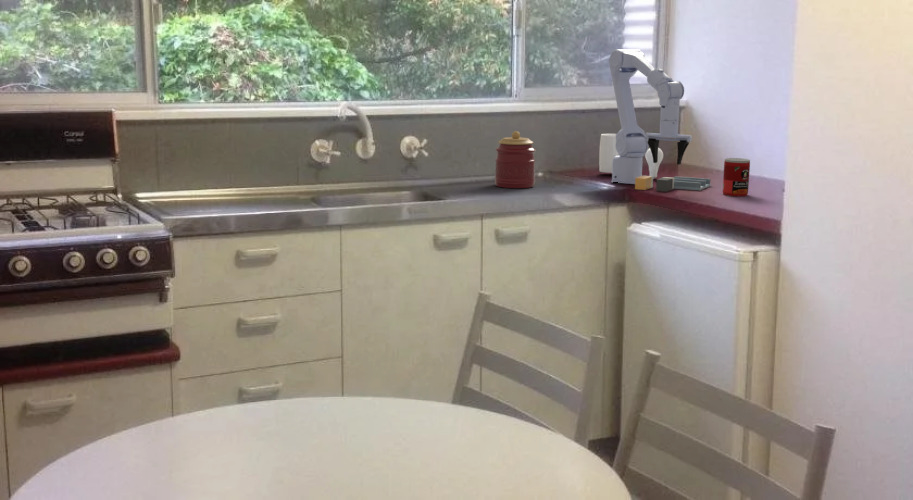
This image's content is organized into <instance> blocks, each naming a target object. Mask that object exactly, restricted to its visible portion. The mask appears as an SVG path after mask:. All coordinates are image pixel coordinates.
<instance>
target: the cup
mask: <svg viewBox="0 0 913 500" xmlns="http://www.w3.org/2000/svg"><path fill="white" fill-rule="evenodd" d="M616 134H617V133H601V134H600V138H599V155H598V157H599V158H598V159H599V161H598V162H599V165H598V167H599V168H598V169H599V172H600V173H607V174H612V167H613V159H614V157H615V156H619V154H618V152H617V150H616Z"/></svg>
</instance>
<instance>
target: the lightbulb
mask: <svg viewBox="0 0 913 500" xmlns="http://www.w3.org/2000/svg"><path fill="white" fill-rule="evenodd" d="M644 157H645V160H646V162H647V165H648V172H649V176H653V180H654V179H656V178H657V177H658V171H659V168H660V165H661V164H662V161H663V159H664V152H663V151H662V149H661V148H660V147H658V161H657V163H653V156H652V152H651V149H650V147H648V150H647V152H646V153H645V156H644Z"/></svg>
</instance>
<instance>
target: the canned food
mask: <svg viewBox="0 0 913 500" xmlns="http://www.w3.org/2000/svg"><path fill="white" fill-rule="evenodd" d="M723 162H724V163H723V178H722V195H724V196H727V195H729V196H728V197H747V196H748V193H749V184H750V182H749V181H750V171H751V170H750V169H751V159H748V158H741V157H739V158H738V157H729V158H728V157H727V158H724V161H723Z"/></svg>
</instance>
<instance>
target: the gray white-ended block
mask: <svg viewBox="0 0 913 500" xmlns="http://www.w3.org/2000/svg"><path fill="white" fill-rule="evenodd" d="M655 189H656V190H655V191H656V192H664V193H665V192H669V191H672V190H674V177H667V176H663V177H660V178H658V179H656V187H655Z"/></svg>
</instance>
